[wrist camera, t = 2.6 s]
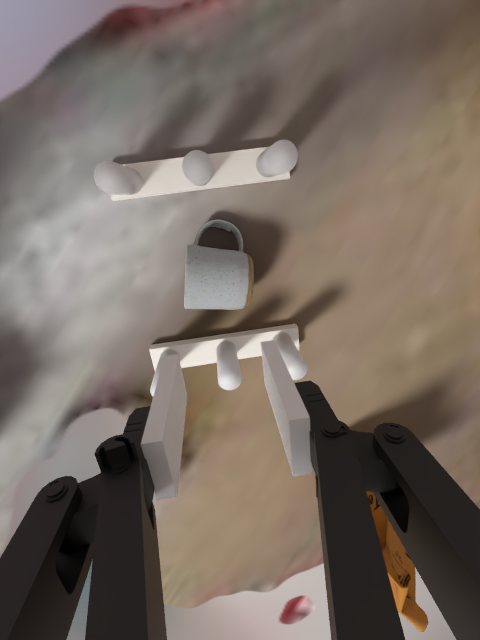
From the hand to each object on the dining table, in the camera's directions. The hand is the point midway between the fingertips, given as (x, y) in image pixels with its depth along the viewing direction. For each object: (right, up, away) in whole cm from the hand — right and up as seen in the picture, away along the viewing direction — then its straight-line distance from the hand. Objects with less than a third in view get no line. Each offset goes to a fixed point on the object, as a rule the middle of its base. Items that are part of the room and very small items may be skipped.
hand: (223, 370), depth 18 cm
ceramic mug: (-2, +10, +25) cm, 27 cm away
